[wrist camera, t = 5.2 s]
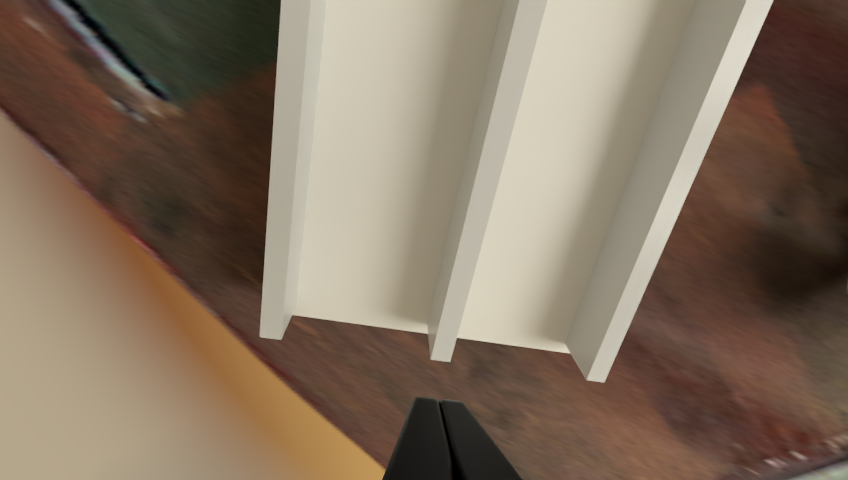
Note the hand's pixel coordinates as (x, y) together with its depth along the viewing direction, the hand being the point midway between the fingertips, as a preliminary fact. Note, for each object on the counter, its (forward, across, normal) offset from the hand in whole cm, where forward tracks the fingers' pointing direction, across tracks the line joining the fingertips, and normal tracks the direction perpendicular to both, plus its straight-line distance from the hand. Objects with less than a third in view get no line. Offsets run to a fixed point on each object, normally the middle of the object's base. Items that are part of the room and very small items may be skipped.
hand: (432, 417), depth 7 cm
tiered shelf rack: (+12, -2, -3) cm, 12 cm away
